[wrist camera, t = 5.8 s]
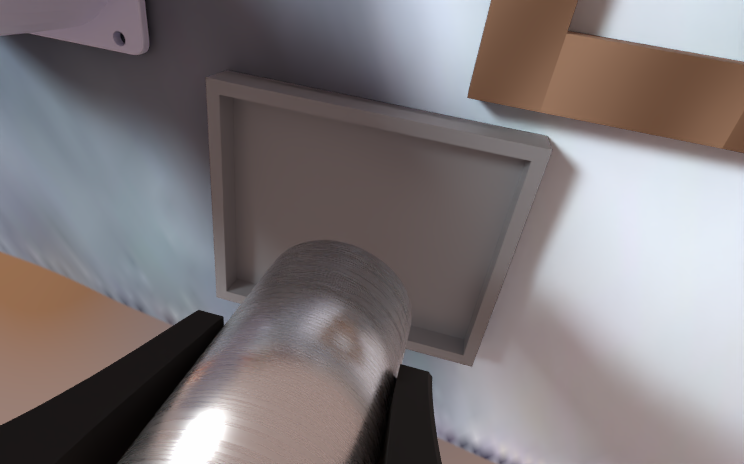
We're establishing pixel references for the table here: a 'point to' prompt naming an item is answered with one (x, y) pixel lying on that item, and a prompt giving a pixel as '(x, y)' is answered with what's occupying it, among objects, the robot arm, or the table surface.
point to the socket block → (605, 77)
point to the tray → (371, 196)
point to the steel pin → (292, 369)
